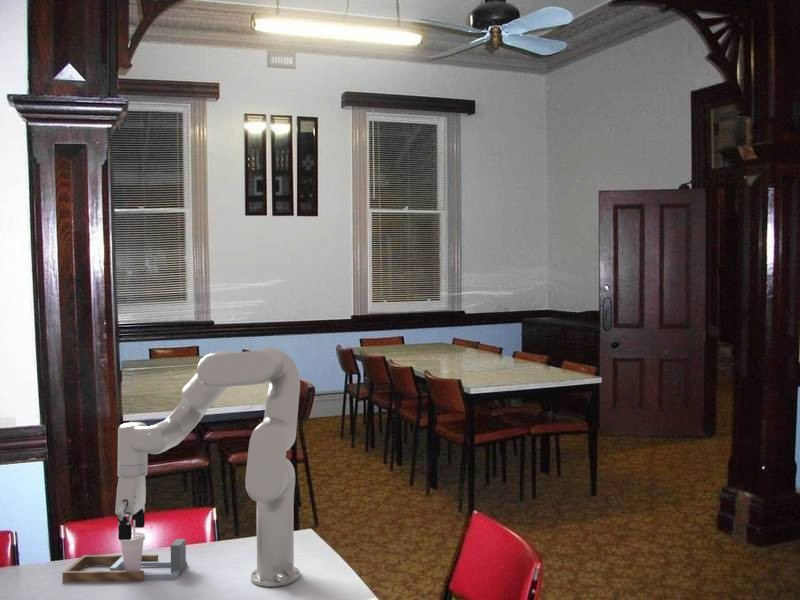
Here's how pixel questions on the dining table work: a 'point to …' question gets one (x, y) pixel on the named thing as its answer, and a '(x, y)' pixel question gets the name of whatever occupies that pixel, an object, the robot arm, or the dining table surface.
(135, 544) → the smoothie
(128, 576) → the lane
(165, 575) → the sled
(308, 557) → the dining table surface
